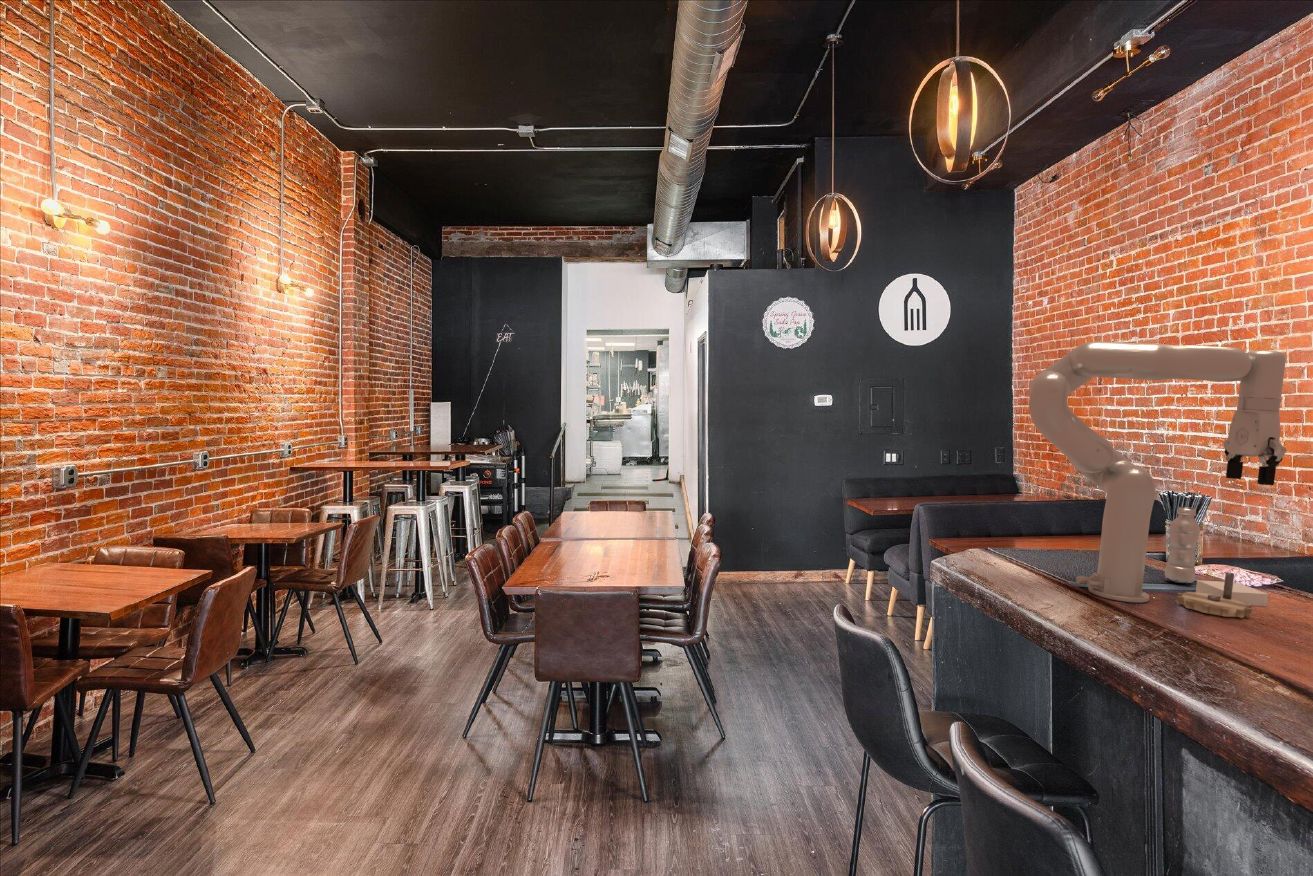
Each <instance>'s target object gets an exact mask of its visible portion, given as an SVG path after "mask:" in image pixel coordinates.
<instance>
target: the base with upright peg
mask: <svg viewBox="0 0 1313 876" xmlns="http://www.w3.org/2000/svg"><path fill="white" fill-rule="evenodd" d="M1234 578H1235V573H1234V572H1228V571H1227V572H1225V576H1224V582H1225V583H1224V591H1223V596H1219V595H1213V594H1207V593H1197V592H1196V591H1195V592H1192V591H1184V592H1183V593H1181V592H1177V593H1176V598H1175V599H1176V604H1178V605H1182V606H1184V607H1185V608H1186V609H1191V610H1194V611H1197V612H1201V613H1203V614H1204V613H1205V614H1209V615H1215V616H1222V617H1227V618H1228V617H1231V618H1240V619H1242V618H1243V619H1244V618H1245V616H1247V617H1252V616H1253V608H1252V606H1251V605H1248V604H1244V603H1242V602H1241V601H1239V600H1234V599H1231V597H1232V589H1233V582H1234V581H1235V579H1234Z"/></svg>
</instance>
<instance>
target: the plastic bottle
mask: <svg viewBox="0 0 1313 876" xmlns="http://www.w3.org/2000/svg"><path fill="white" fill-rule="evenodd" d="M1177 509H1178V511H1177V515H1178V516H1177V517H1176V518H1175V519H1173V520H1172V521H1171V523H1170V524H1169V540H1170V541H1169V554H1168V559H1167V563H1166V566H1165V569H1164V577H1165V579H1166V578H1169V579H1172V580H1178V581H1180V582H1188V583H1192V582H1193V583H1194V582H1195V579H1196V569H1195V568H1196V566H1195V563H1196V562H1195V557H1196V555H1195V554H1196V549H1197V542H1198V540H1199V537H1200V533H1201V527H1200V525H1199V523H1198V522H1197V520H1196V519H1195V517H1196V516H1197V513H1196V512H1197V509H1196V508H1194V507H1189V506H1179V507H1178V508H1177Z"/></svg>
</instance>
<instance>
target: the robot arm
mask: <svg viewBox="0 0 1313 876" xmlns="http://www.w3.org/2000/svg"><path fill="white" fill-rule="evenodd" d="M1286 361H1287V358H1286V355H1285V353H1284V352H1282V351H1276V350H1252V351H1248V352H1246V351H1245V350H1242V349H1241V348H1238V347H1233V346H1231V347H1228V346H1207V345H1206V346H1205V345H1203V346H1202V345H1180V344H1179V345H1175V344H1174V345H1173V344H1166V343H1165V344H1164V343H1149V342H1148V343H1145V342H1142V343H1139V342H1123V341H1122V342H1119V341H1118V342H1117V341H1095V340H1094V341H1088V342H1084V343H1081V344H1079V345H1078V346H1076V347H1075V348H1073V349H1072V350H1071V351H1070V352H1068V353H1067V354H1065V355H1064V356H1063V357H1061V358H1060V359H1059V360H1057V361H1056V362H1054V363H1052V365H1050V366H1049V367H1048V368H1046V369H1044V370H1042V371H1041V372H1039V373H1038V374H1037V375H1035V377H1033V379H1032V380H1031V381H1030V383H1029V385H1028V386H1029V388H1028V389H1029V390H1028V391H1029V401H1028V410H1029V414H1030V419H1031V421H1032V423H1033V425H1034V427H1035V428H1036V430H1037V431H1039V433H1040V434H1041V435H1042V436H1043V437H1044V438H1046V440H1048V441H1049V442H1050V443H1051V444H1052V445H1053V446H1054V447H1056V449H1057V450H1058V451H1060V452H1061V453H1062V454H1063V455H1064V456H1065V457H1066V458H1067V460H1068V461H1069V463H1070V464H1071V465H1072V466H1074V468H1075V469H1076V470H1078V471H1079V472H1080V473H1082V475H1083V476H1084V477H1086V478H1087V479H1088V480H1089V481H1090V482H1092V483H1093V484H1094V485H1095V486H1097V487H1098V489H1100V490H1101V491H1102V492H1104V493H1105V494H1106V500H1105V504H1104V511H1103V517H1102V525H1101V533H1100V534H1101V535H1100V536H1101V537H1100V543H1099V544H1100V545H1099V554H1098V565H1097V572H1092V575H1089V576H1083V575H1077V576H1076V577H1075V582H1076V584H1077V585H1087V587H1088V589H1087V590H1088V591H1089V592H1090V593H1091V594H1093V595H1095V596H1097V597H1101V598H1104V599H1108V600H1114V601H1118V602H1125V603H1134V604H1136V603H1137V604H1139V603H1146V602H1149V601H1150V595H1149V594H1148V593H1147V592H1145V591H1143V586H1144V585H1143V584H1144V577H1145V566H1146V558H1147V552H1148V551H1147V550H1148V540H1149V533H1150V532H1149V530H1150V524H1151V522H1150V521H1151V517H1152V511H1153V506H1154V503H1155V498H1156V489H1157V488H1156V484H1155V480H1154V478H1153V476H1152V475H1151V474H1150V473H1149V471H1146V469H1144V468H1142V467H1140V466H1138V465H1135V464H1134V462H1133V463H1132V462H1131V461H1130V460H1129V459H1128V458H1127V457H1126V456H1124V455H1123V454H1121V452H1119V451H1118V450H1117V449H1116V448H1115V447H1113V445H1112V444H1111V443H1110V441H1109V440H1108V439H1107V438H1105V437H1104V436H1102V435H1100V434H1098V433H1097V432H1096V430H1095V431H1094V429H1092V428H1091V427H1090V426H1088V425H1087V424H1086V423H1085V422H1084V421H1082V419H1080V417H1078V416H1077V415H1076V414H1075V413H1074V412H1073V411H1072V410H1071V408H1070V407H1069V404H1068V399H1069V395H1070V394H1072V393H1073V392H1074V391H1076V390H1077V389H1079V388H1080V387H1082V386H1083V385H1085V384H1086V383H1087V382H1089V381H1090V380H1091V379H1093V378H1109V379H1124V380H1125V379H1128V380H1129V379H1130V380H1141V381H1143V380H1144V381H1145V380H1146V381H1164V380H1199V381H1210V382H1215V383H1225V382H1228V383H1230V382H1239V389H1238V398H1237V406H1236V410H1235V411H1234V413H1233V416H1232V418H1231V423H1230V426H1229V430H1228V435H1227V439H1226V440H1224V441H1223V447H1224V454H1225V456H1226V457H1225V459H1226V461H1227V465H1226V473H1225V478H1226V479H1233V480H1234V479H1235V480H1241V479H1242V478H1243V477H1242V475H1243V470H1244V469H1243V468H1244V462H1243V461H1242V460H1243V459H1245V457H1253V458H1254V457H1258V459H1259V462H1260V463H1261V465H1260V466H1259V467H1258V474H1257V484H1258V485H1260V486H1274V485H1275V480H1276V479H1275V478H1276V471H1277V468H1279V466H1280V465H1279V464H1280V463H1281V462H1282V461H1283V457H1284V456H1285V454H1286V453H1287V448H1286V447H1285V446H1284V445H1282V444H1281V443H1280V441H1281V439H1280V438H1281V437H1280V436H1281V418H1280V417H1281V416H1280V411H1281V410H1280V409H1281V402H1282V394H1283V385H1284V378H1285V377H1284V376H1285V371H1286V370H1285V369H1286V364H1287V363H1286Z"/></svg>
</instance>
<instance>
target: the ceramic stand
mask: <svg viewBox="0 0 1313 876" xmlns="http://www.w3.org/2000/svg"><path fill="white" fill-rule="evenodd" d="M1224 583H1225V581H1218V580H1217V581H1216V580H1215V581H1214V580H1201V579H1199V580H1198V579H1197V580H1196V588H1195V592H1197V593H1207V594H1213V595H1219V596H1223V591H1224ZM1269 595H1270V594H1269V593H1266V592H1264V591H1261V590H1258V589H1257V588H1253V587H1250V586H1248V585H1244V584H1242V583H1239V582H1234V581H1233V589H1232V597H1231V599H1234V600H1239V601H1241V602H1242V603H1244V604H1248V605H1251V607H1268V601H1269Z"/></svg>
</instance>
